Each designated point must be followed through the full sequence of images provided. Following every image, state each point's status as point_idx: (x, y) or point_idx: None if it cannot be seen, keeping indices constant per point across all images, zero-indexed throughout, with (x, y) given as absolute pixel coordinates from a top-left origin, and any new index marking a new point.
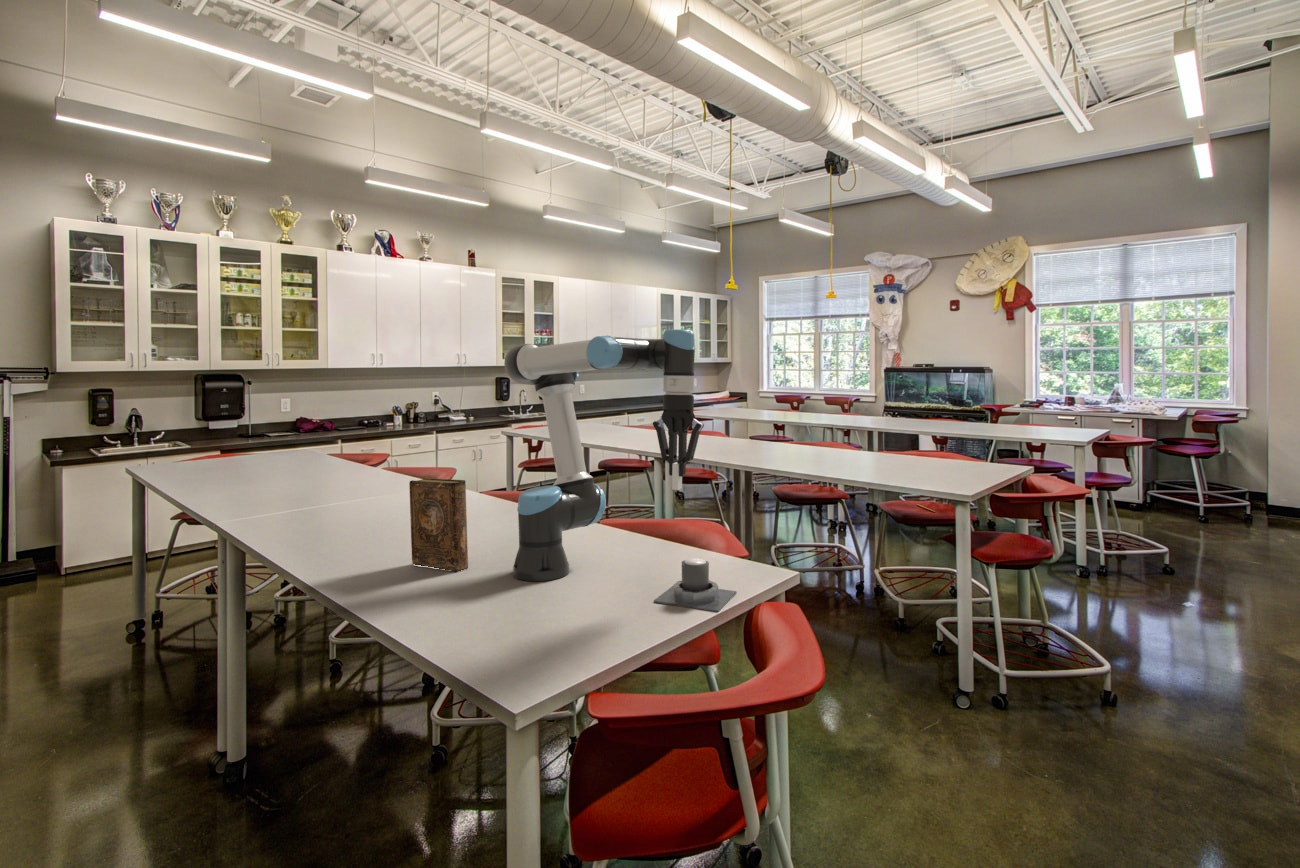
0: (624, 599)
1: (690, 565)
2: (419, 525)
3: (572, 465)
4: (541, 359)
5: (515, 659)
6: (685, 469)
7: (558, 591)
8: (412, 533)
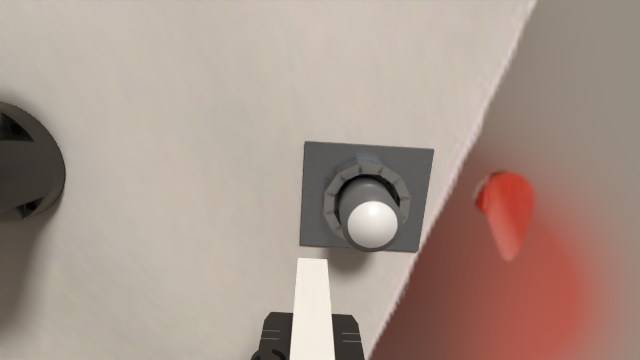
0: (245, 244)
1: (367, 246)
2: None
3: None
4: None
5: None
6: (361, 345)
7: (115, 245)
8: None
